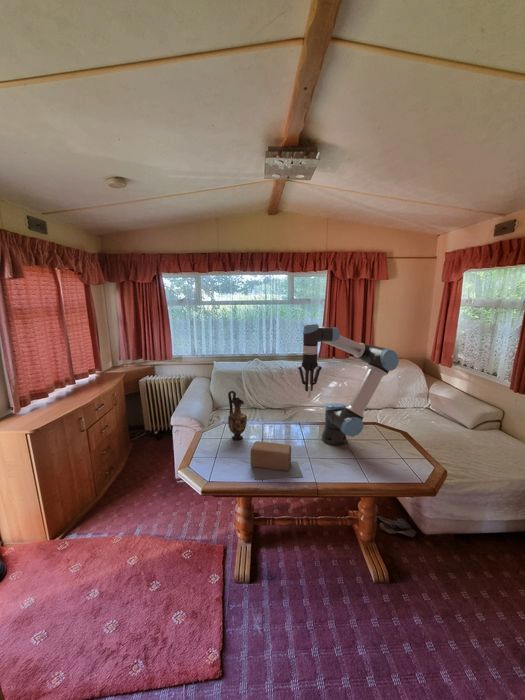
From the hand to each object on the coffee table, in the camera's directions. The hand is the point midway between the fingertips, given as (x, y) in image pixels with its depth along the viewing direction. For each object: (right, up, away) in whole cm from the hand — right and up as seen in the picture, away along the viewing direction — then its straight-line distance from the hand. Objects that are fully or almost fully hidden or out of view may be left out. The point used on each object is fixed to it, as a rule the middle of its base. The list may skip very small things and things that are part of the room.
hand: (308, 396), depth 155 cm
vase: (-41, -30, +27) cm, 58 cm away
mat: (-17, -36, -8) cm, 41 cm away
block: (-10, -30, -6) cm, 33 cm away
